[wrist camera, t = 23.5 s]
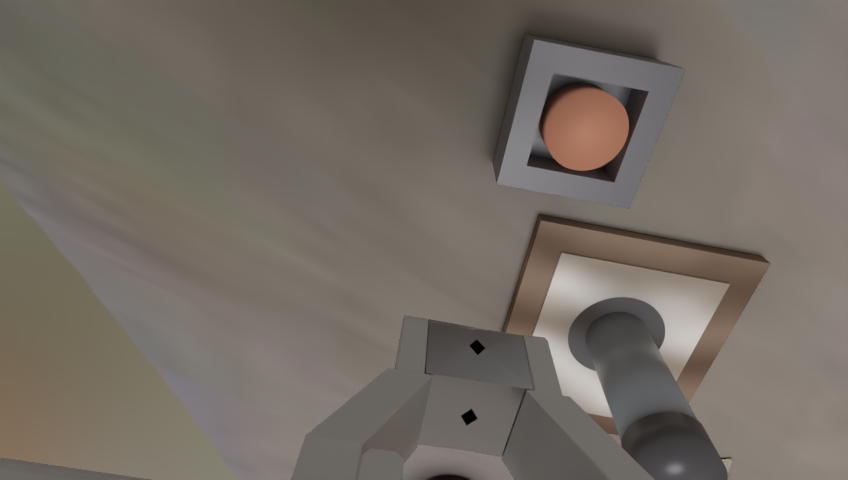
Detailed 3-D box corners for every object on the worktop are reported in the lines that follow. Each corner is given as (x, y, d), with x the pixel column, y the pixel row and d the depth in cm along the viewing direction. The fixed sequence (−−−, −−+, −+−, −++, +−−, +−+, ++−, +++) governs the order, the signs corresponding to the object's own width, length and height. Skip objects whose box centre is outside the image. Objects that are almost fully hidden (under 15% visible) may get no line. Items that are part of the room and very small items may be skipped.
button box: (524, 33, 28) (534, 39, 25) (657, 59, 28) (685, 69, 25) (492, 162, 32) (496, 183, 28) (610, 185, 32) (628, 208, 29)
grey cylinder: (595, 306, 35) (654, 443, 24) (657, 316, 35) (743, 458, 24) (576, 354, 37) (622, 500, 26) (635, 364, 37) (704, 514, 26)
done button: (551, 75, 28) (559, 83, 25) (626, 90, 28) (641, 99, 25) (530, 149, 30) (536, 162, 27) (600, 163, 30) (612, 177, 27)
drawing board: (538, 214, 33) (541, 222, 32) (762, 256, 34) (773, 265, 33) (480, 401, 42) (481, 413, 40) (660, 433, 42) (666, 446, 41)
